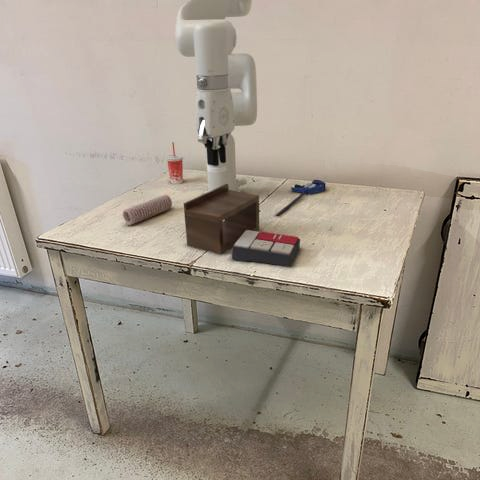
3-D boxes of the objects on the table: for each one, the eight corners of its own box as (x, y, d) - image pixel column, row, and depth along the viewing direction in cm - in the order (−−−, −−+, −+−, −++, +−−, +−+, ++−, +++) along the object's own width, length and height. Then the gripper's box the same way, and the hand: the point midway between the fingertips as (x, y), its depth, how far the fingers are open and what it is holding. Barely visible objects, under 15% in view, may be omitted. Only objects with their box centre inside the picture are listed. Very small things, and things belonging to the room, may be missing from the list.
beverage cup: (184, 184, 176) (180, 144, 168) (167, 184, 176) (163, 144, 168) (185, 179, 181) (182, 140, 173) (169, 179, 181) (165, 140, 173)
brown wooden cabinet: (227, 222, 142) (226, 183, 136) (259, 229, 137) (259, 189, 131) (187, 245, 129) (183, 203, 123) (220, 254, 124) (218, 210, 118)
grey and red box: (291, 253, 115) (231, 243, 118) (290, 269, 117) (231, 259, 121) (300, 235, 123) (244, 227, 127) (299, 250, 126) (244, 242, 129)
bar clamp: (301, 177, 171) (328, 180, 166) (301, 183, 172) (328, 187, 168) (260, 208, 148) (290, 213, 144) (260, 216, 149) (290, 221, 145)
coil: (130, 213, 138) (174, 196, 150) (119, 208, 141) (163, 192, 153) (131, 228, 141) (174, 210, 153) (121, 223, 143) (163, 206, 155)
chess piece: (229, 167, 125) (228, 126, 119) (222, 172, 121) (220, 130, 115) (211, 166, 126) (209, 125, 121) (204, 171, 122) (201, 129, 117)
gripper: (204, 88, 105) (209, 173, 115) (245, 80, 116) (246, 158, 126) (178, 86, 109) (185, 169, 119) (220, 78, 120) (223, 154, 130)
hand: (216, 163), depth 122 cm, fingers closed on chess piece
